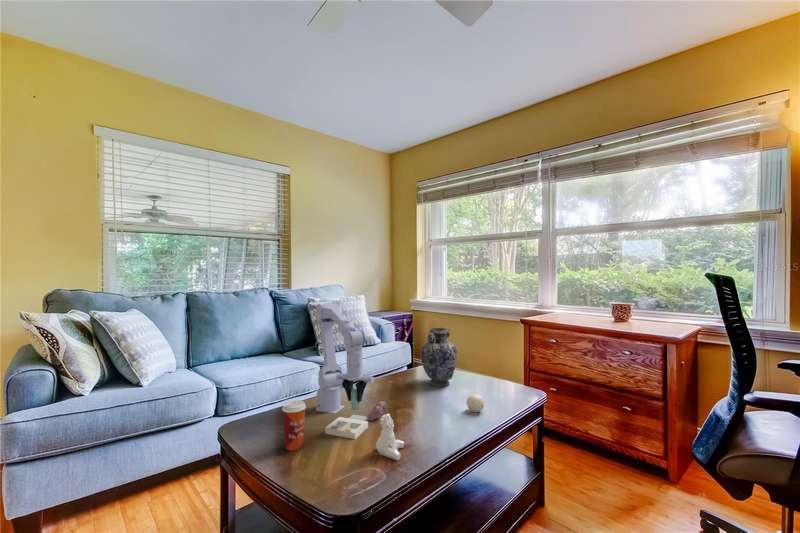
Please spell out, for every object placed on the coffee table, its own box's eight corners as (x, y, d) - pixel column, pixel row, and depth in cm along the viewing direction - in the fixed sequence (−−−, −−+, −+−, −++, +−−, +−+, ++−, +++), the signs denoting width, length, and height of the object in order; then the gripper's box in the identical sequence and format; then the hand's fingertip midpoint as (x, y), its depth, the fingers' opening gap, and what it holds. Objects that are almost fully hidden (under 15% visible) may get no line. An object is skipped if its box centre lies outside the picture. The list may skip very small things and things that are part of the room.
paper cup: (293, 454, 111) (292, 410, 111) (277, 448, 115) (276, 405, 115) (311, 444, 117) (311, 402, 117) (295, 438, 121) (295, 397, 122)
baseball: (471, 416, 139) (471, 399, 139) (464, 409, 146) (464, 392, 146) (487, 414, 140) (487, 397, 140) (479, 407, 148) (479, 391, 148)
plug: (349, 409, 128) (349, 390, 128) (353, 406, 131) (352, 387, 131) (357, 410, 127) (357, 391, 127) (360, 407, 130) (360, 388, 130)
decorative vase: (447, 392, 165) (445, 333, 166) (413, 386, 175) (412, 330, 176) (464, 381, 183) (463, 327, 184) (433, 376, 193) (432, 325, 194)
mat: (344, 422, 134) (344, 421, 134) (353, 415, 140) (353, 414, 140) (360, 425, 131) (360, 424, 131) (368, 418, 138) (368, 417, 138)
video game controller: (375, 426, 134) (383, 410, 133) (365, 420, 135) (373, 404, 134) (382, 415, 144) (389, 401, 143) (372, 410, 144) (380, 395, 144)
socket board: (325, 434, 124) (325, 426, 124) (339, 423, 133) (339, 416, 133) (355, 440, 120) (355, 432, 120) (368, 427, 129) (367, 420, 129)
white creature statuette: (399, 461, 106) (399, 421, 106) (372, 459, 108) (371, 420, 108) (404, 446, 115) (404, 409, 116) (379, 444, 117) (379, 408, 117)
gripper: (331, 364, 128) (332, 402, 128) (367, 368, 123) (368, 407, 123) (341, 360, 135) (341, 395, 134) (375, 363, 130) (376, 400, 129)
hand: (354, 400), depth 129 cm, fingers closed on plug, 3 cm apart
